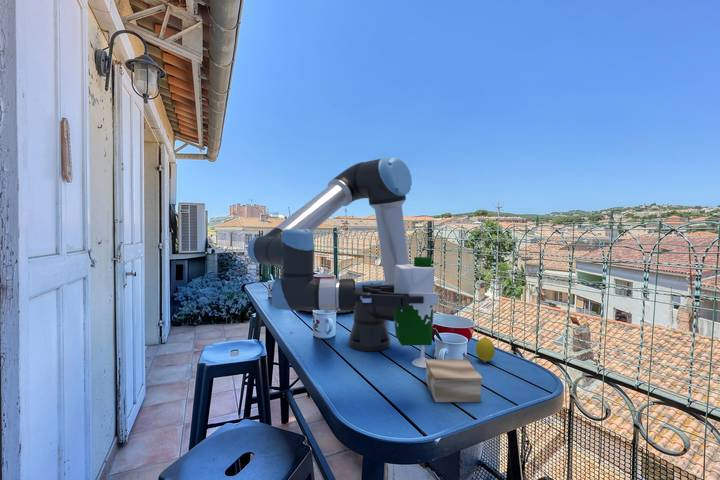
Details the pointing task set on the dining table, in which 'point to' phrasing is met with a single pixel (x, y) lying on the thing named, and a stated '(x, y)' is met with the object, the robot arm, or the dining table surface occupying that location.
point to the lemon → (485, 349)
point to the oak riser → (453, 380)
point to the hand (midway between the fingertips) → (432, 295)
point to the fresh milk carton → (417, 319)
